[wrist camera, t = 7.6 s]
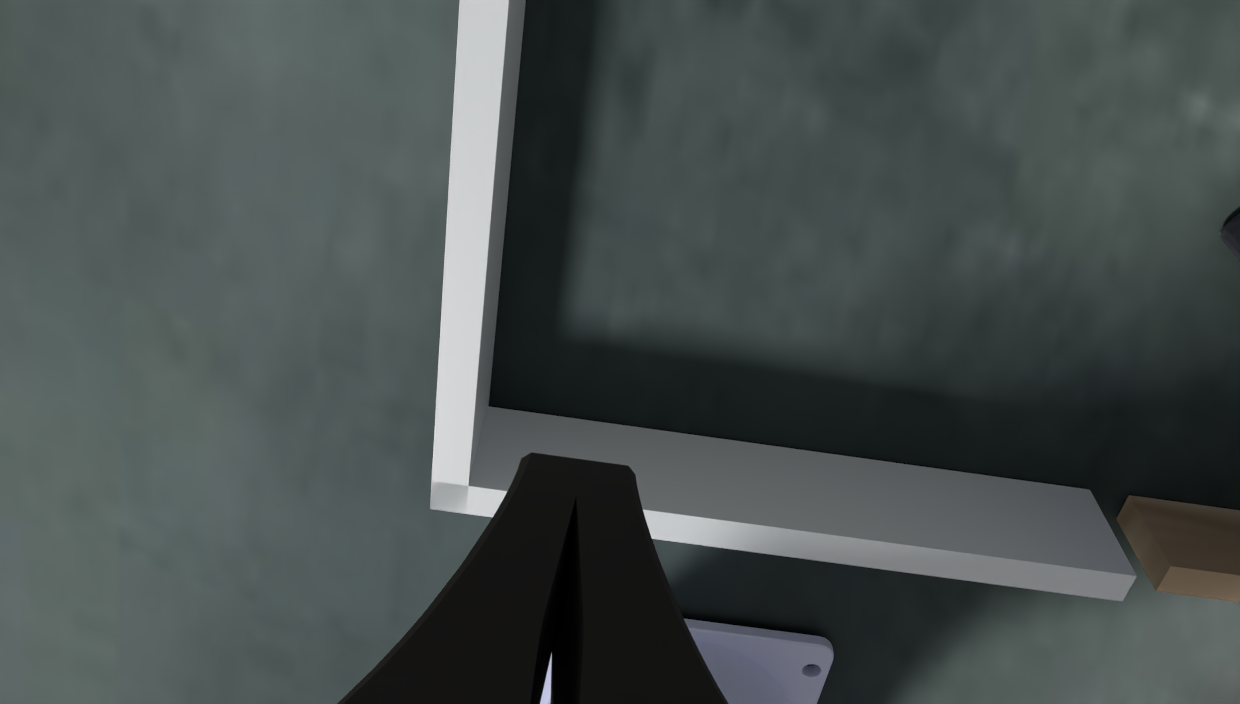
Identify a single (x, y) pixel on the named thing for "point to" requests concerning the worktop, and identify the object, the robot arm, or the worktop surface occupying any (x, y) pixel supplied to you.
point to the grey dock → (705, 466)
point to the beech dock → (1185, 546)
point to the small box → (1232, 235)
